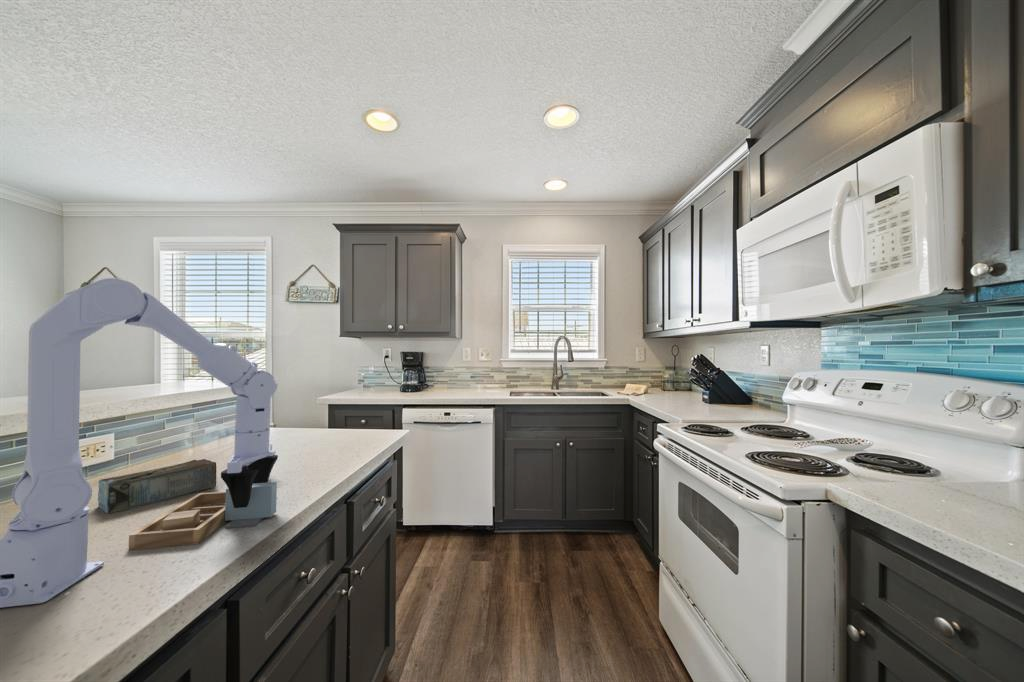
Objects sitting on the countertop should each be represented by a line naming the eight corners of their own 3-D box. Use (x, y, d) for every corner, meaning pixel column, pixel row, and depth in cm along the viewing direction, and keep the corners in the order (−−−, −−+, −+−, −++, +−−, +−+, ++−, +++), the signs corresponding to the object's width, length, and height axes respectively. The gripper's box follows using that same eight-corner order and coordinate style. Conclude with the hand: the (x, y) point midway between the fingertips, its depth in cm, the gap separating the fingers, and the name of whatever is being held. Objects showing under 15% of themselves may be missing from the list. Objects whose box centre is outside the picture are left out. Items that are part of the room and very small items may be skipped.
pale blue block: (271, 516, 74) (271, 486, 75) (224, 520, 73) (225, 489, 73) (276, 511, 77) (276, 481, 77) (231, 515, 75) (232, 484, 75)
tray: (198, 543, 65) (198, 529, 65) (128, 550, 62) (129, 535, 63) (250, 500, 84) (251, 489, 84) (198, 504, 81) (199, 493, 82)
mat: (255, 525, 71) (255, 523, 71) (225, 528, 70) (225, 526, 70) (272, 509, 79) (272, 507, 79) (245, 511, 78) (245, 509, 78)
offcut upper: (192, 527, 67) (193, 516, 67) (162, 532, 65) (162, 520, 65) (199, 520, 70) (200, 509, 70) (171, 524, 68) (171, 512, 68)
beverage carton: (95, 507, 80) (96, 476, 81) (205, 482, 97) (206, 456, 97) (105, 515, 76) (107, 482, 77) (218, 488, 92) (219, 460, 93)
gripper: (259, 437, 69) (256, 512, 69) (288, 423, 83) (286, 485, 83) (215, 438, 68) (212, 515, 67) (252, 424, 82) (250, 488, 81)
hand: (250, 499), depth 75 cm, fingers open, 7 cm apart
